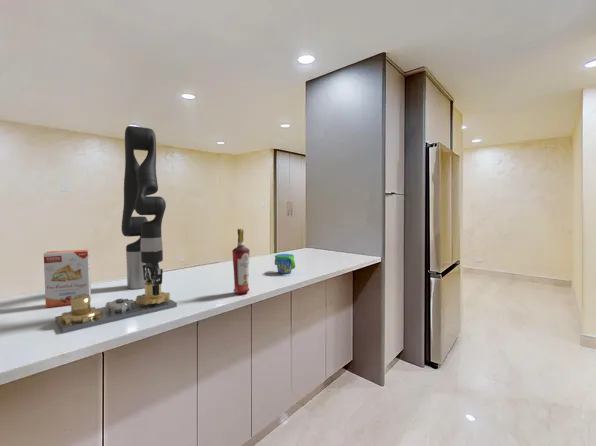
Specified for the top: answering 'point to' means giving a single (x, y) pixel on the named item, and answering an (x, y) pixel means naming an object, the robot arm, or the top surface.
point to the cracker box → (66, 276)
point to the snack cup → (284, 263)
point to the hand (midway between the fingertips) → (153, 293)
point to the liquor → (241, 265)
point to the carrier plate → (104, 312)
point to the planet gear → (149, 297)
